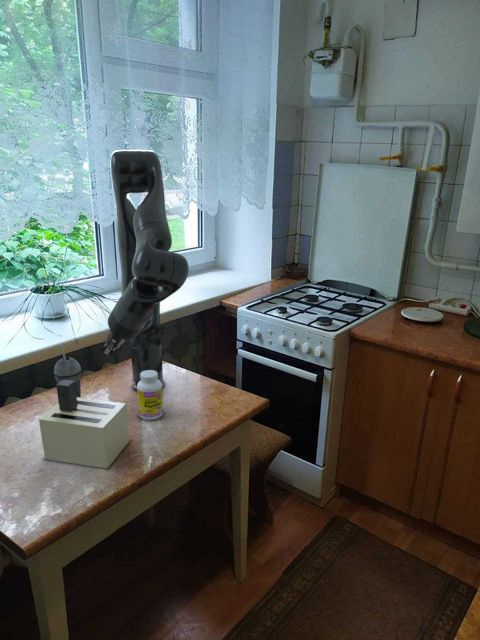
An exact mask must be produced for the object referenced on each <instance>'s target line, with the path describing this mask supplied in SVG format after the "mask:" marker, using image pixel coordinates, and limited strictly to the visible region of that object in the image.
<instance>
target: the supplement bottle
mask: <svg viewBox="0 0 480 640" xmlns="http://www.w3.org/2000/svg"><path fill="white" fill-rule="evenodd" d="M140 378H141V381H139V382H138V384H137V390H136V391H137V406H138V407H137V408H138V409H137V410H138V416H139V417H140V418H141V419H143V420H146V421H154V420H156V419H159V418H161V417H162V415H163V413H164V407H163V402H164V401H163V387H162V383H161V382H160V381H159V380H158V379H157V378H158V373H157V372H156V371H154V370H146V371H143V372H141V373H140Z"/></svg>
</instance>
